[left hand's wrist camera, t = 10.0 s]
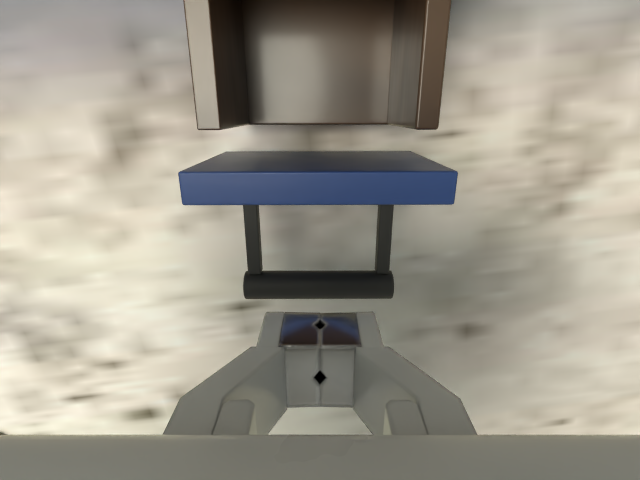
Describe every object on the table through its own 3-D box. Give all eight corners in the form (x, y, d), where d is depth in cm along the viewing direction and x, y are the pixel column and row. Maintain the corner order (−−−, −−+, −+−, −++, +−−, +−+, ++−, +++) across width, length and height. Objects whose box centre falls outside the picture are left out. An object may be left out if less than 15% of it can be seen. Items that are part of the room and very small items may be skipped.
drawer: (402, 266, 21) (438, 333, 15) (235, 267, 21) (198, 334, 15) (442, -230, 14) (545, -514, 8) (192, -230, 14) (86, -515, 8)
